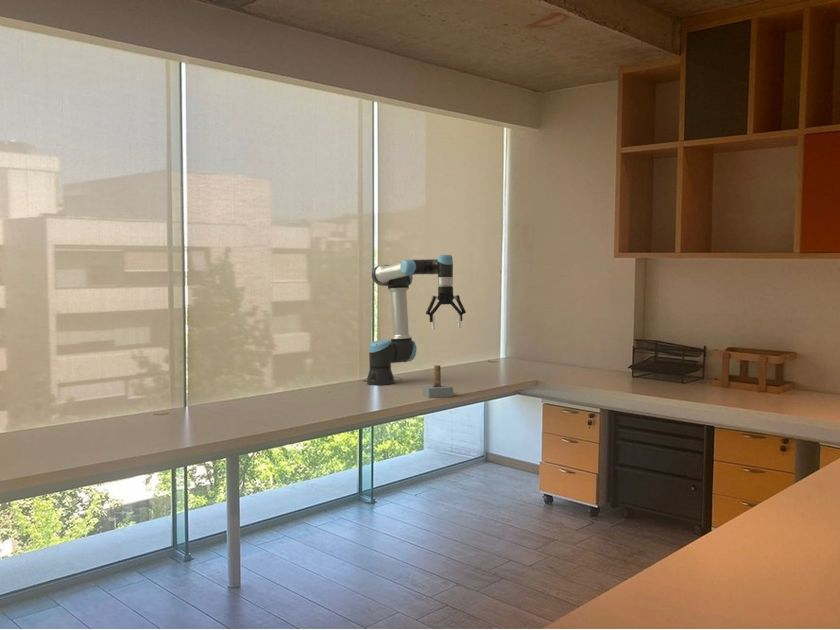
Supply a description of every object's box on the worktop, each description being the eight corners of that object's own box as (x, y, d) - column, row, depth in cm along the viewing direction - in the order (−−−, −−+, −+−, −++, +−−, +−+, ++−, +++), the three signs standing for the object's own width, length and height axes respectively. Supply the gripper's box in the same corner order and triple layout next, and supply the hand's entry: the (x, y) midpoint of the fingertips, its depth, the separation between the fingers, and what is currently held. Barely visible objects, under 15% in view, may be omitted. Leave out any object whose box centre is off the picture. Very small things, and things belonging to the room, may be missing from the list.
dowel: (434, 394, 370) (433, 365, 369) (439, 393, 370) (439, 365, 370) (435, 394, 367) (435, 366, 366) (441, 394, 368) (441, 365, 367)
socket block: (422, 394, 373) (422, 385, 373) (446, 392, 376) (445, 383, 376) (429, 397, 361) (428, 388, 361) (453, 396, 364) (453, 387, 364)
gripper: (423, 286, 372) (424, 329, 373) (471, 285, 378) (472, 327, 379) (419, 286, 379) (420, 328, 380) (466, 285, 385) (467, 326, 386)
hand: (446, 328), depth 380 cm, fingers open, 13 cm apart
